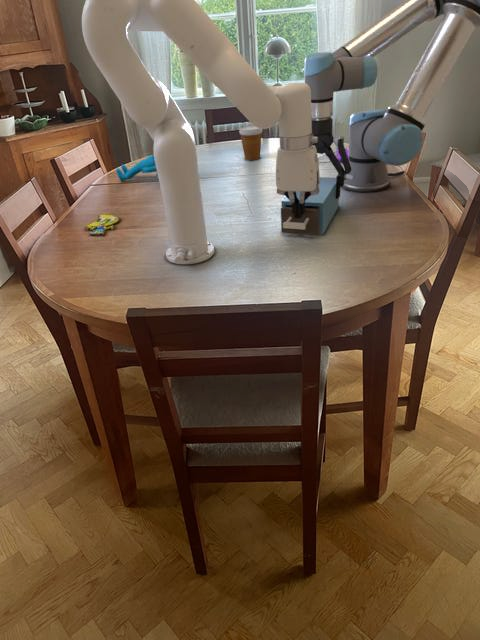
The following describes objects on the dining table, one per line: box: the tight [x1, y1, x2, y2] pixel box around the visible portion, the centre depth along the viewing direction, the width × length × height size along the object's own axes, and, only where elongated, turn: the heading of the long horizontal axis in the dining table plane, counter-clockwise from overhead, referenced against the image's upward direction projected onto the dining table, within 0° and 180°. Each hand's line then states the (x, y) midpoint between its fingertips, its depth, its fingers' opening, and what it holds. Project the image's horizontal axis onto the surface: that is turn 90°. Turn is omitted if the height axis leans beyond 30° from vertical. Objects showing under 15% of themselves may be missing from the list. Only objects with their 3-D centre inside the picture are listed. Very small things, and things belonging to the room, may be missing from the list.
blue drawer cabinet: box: [280, 176, 340, 236], centre depth 136 cm, size 22×11×9 cm, turn 159°
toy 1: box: [85, 214, 120, 236], centre depth 147 cm, size 10×1×15 cm
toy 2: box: [115, 154, 158, 182], centre depth 182 cm, size 17×11×30 cm
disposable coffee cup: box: [238, 124, 263, 161], centre depth 196 cm, size 10×10×12 cm
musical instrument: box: [318, 146, 349, 164], centre depth 191 cm, size 24×2×20 cm
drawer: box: [280, 205, 320, 236], centre depth 131 cm, size 26×10×7 cm, turn 159°
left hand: (298, 216), depth 122 cm, fingers closed
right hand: (317, 196), depth 142 cm, fingers closed on blue drawer cabinet, 11 cm apart
